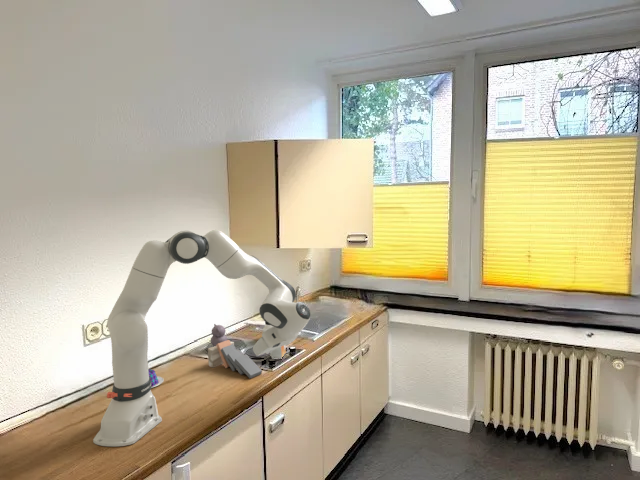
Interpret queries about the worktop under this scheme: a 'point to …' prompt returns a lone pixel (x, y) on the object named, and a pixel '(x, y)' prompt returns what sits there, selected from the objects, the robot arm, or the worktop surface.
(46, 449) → the worktop surface
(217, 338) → the cat figurine
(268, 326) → the medicine bottle
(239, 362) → the domino
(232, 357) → the domino
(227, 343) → the end domino
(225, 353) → the domino
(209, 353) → the stop
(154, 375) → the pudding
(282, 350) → the small box
